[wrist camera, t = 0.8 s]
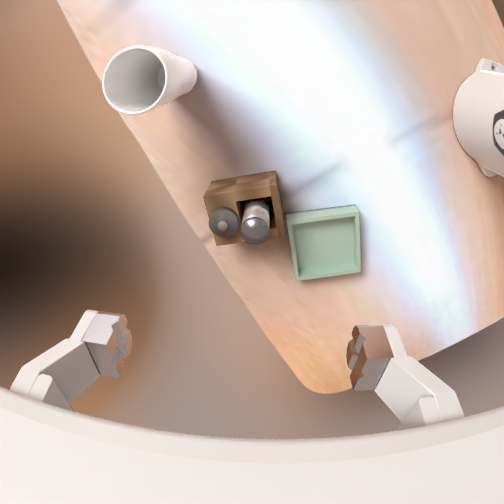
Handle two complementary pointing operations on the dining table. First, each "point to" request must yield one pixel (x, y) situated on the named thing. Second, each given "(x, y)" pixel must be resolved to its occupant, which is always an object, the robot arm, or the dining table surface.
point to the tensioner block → (241, 205)
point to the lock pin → (256, 220)
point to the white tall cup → (146, 79)
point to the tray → (325, 242)
